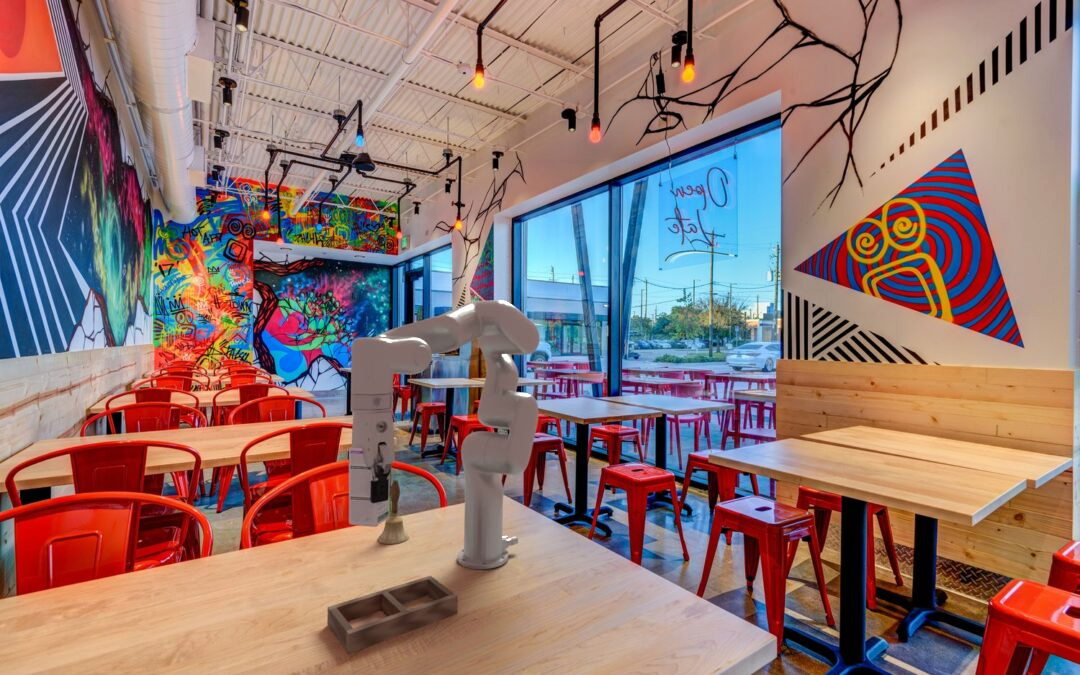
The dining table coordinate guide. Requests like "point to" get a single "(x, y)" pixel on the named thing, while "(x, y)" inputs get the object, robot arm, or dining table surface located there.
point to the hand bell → (394, 521)
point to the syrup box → (364, 492)
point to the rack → (389, 613)
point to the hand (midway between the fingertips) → (370, 495)
